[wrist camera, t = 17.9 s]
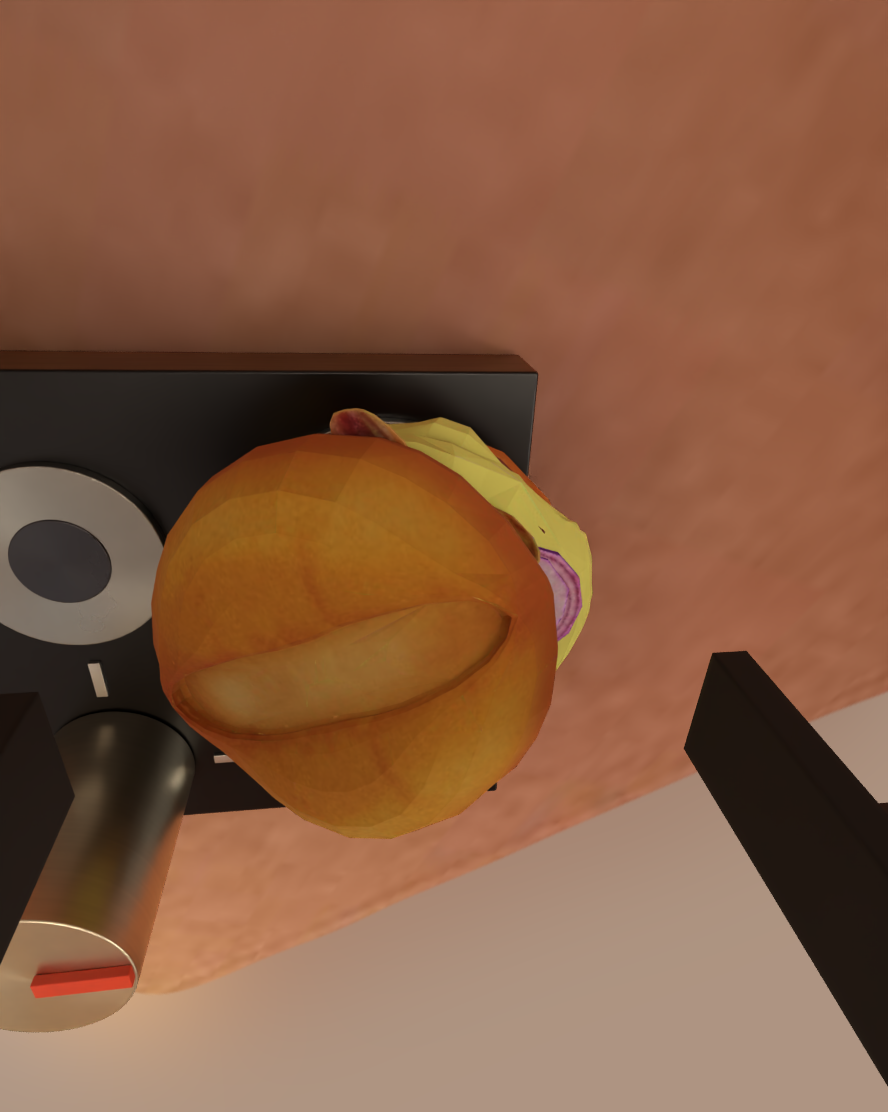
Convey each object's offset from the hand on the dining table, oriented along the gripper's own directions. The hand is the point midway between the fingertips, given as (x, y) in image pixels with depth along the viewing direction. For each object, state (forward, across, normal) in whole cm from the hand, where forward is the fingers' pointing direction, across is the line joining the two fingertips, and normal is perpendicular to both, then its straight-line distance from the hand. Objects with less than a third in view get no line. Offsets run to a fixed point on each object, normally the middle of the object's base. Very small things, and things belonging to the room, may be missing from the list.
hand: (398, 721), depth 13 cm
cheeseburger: (+8, 0, -1) cm, 8 cm away
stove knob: (+8, -9, -9) cm, 15 cm away
